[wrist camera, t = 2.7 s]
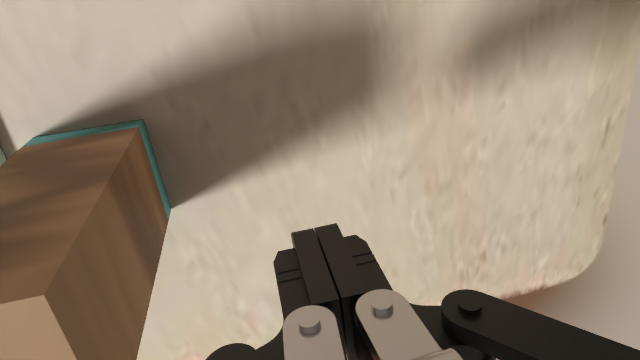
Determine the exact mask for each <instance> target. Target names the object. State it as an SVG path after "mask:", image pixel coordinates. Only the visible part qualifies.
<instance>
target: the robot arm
mask: <svg viewBox="0 0 640 360" xmlns="http://www.w3.org/2000/svg"><path fill="white" fill-rule="evenodd" d="M291 237H292V243H293V248H292V249H288V250H283V251H278V253H277V255H276V258H275V260H274V262H273V263H274V268H275V274H276V279H277V285H278V290H279V296H280V301H281V306H282V312H283V318H284V322H283V326H282V329H281V330H280V332H279V333H278V335H277V336H276V337H275V338H274V339H273V340H271V341H270V342H269V343H267V344H265V345H264V346H262V347H260V348H258V349H256V350H255V349H254V348H253V347H251V346H249V345H247V344H242V343H234V344H229V345H226V346H223V347H221V348H219V349H217V350H216V351H214V352H213V353H212V354H211V355H210V356H209V357H208V358H207V359H206V360H347V358H346V354H347V357H348V360H496V358H497V359H499V360H640V351H639V350H637V349H634V348H632V347H629V346H626V345H623V344H620V343H617V342H615V341H612V340H610V339H607V338H604V337H601V336H599V335H596V334H593V333H591V332H588V331H585V330H582V329H580V328H577V327H574V326H571V325H569V324H566V323H563V322H561V321H558V320H555V319H552V318H550V317H547V316H544V315H542V314H539V313H536V312H533V311H531V310H528V309H525V308H522V307H520V306H517V305H514V304H511V303H509V302H506V301H503V300H501V299H498V298H495V297H493V296H490V295H487V294H484V293H482V292H478V291H475V290H457V291H454V292H451V293H449V294H448V295H446V296H445V297H444V299H443V301H442V304H441V306H421V305H414V304H411V303H408V301H407V300H406V299H405V298H404V296H402V295H401V294H399V293H398V292H395V291H393V290H392V288H391V286H390V284H389V282H388V281H387V279H386V277H385V275H384V273H383V271H382V270H381V268H380V266H379V264H378V262H376V259H375V257H374V255H373V254H372V251H371V250H370V248H369V246H368V244H367V242H366V241H364V240H363V239H361V238H360V237H358V236H356V235H352V236H347V237H343V236H342V234H341V231H340V229H339V227H338V225H337V224H336V223H335V224H330V225H326V226H321V227H316V228H314V229H313V228H312V229H307V230H303V231H298V232H293V233H291Z"/></svg>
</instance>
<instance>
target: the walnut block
mask: <svg viewBox="0 0 640 360" xmlns="http://www.w3.org/2000/svg"><path fill="white" fill-rule="evenodd" d="M170 211H171V207H170V204H169V201H168V198H167V194H166V191H165V188H164V185H163V181H162V178H161V175H160V172H159V169H158V165H157V162H156V159H155V156H154V152H153V149H152V146H151V143H150V139H149V136H148V133H147V130H146V127H145V123H144V120H143V119H141V120H135V121H129V122H123V123H117V124H111V125H105V126H99V127H93V128H87V129H82V130H76V131H70V132H64V133H58V134H52V135H46V136H40V137H34V138H32V139H31V140H30V141H29V142H28V143H26V144H25V145H24V146H23V147H22V148H20V149H19V150H18V151H17V152H16V153H15V154H13V155H12V156H11V157H10V158H9V159H8V160H6V161H5V162H4V163H3V164H2V165H1V166H0V360H136V358H137V354H138V350H139V345H140V341H141V337H142V332H143V328H144V324H145V319H146V315H147V311H148V307H149V302H150V298H151V294H152V289H153V285H154V281H155V276H156V272H157V268H158V263H159V259H160V255H161V250H162V246H163V242H164V237H165V233H166V229H167V224H168V220H169V216H170Z"/></svg>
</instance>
